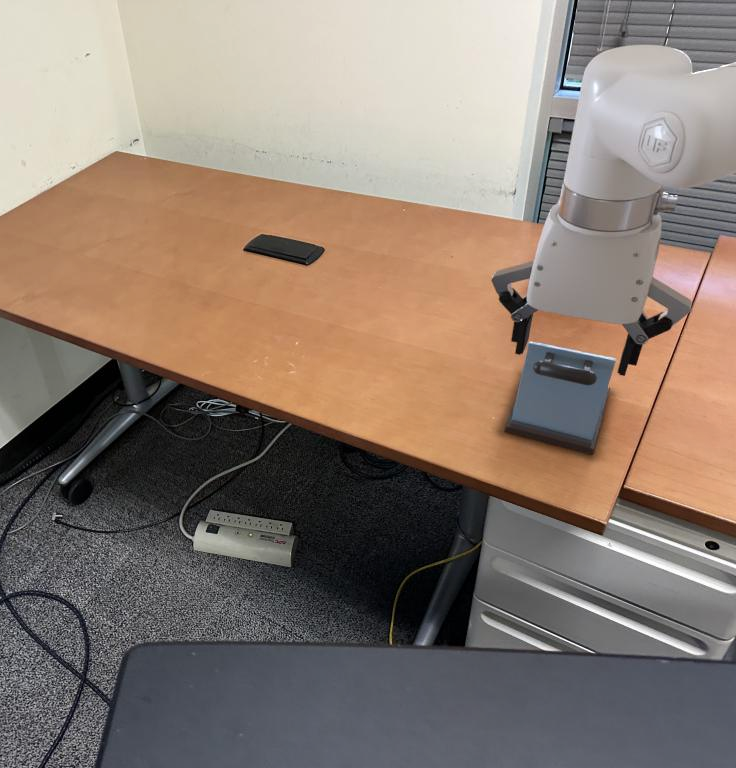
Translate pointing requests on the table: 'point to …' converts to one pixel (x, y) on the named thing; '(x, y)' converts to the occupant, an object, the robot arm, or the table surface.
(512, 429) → the dark rectangular box base
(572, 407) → the handled blue panel
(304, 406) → the table surface
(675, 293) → the robot arm
